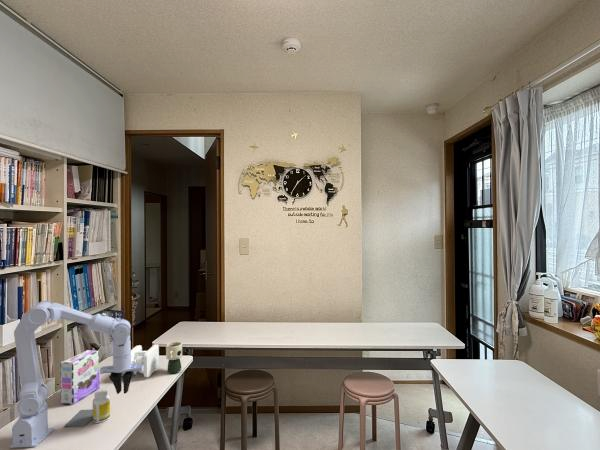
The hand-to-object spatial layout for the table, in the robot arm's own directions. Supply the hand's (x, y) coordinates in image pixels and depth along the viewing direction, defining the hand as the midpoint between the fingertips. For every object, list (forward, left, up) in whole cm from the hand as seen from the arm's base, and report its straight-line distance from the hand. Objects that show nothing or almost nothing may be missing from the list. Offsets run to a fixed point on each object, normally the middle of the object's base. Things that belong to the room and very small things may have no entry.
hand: (122, 392), depth 124 cm
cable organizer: (+37, +8, -10) cm, 39 cm away
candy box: (+18, +25, -10) cm, 32 cm away
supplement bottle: (0, +8, -10) cm, 12 cm away
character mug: (+38, -7, -10) cm, 40 cm away
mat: (+1, +15, -9) cm, 17 cm away
